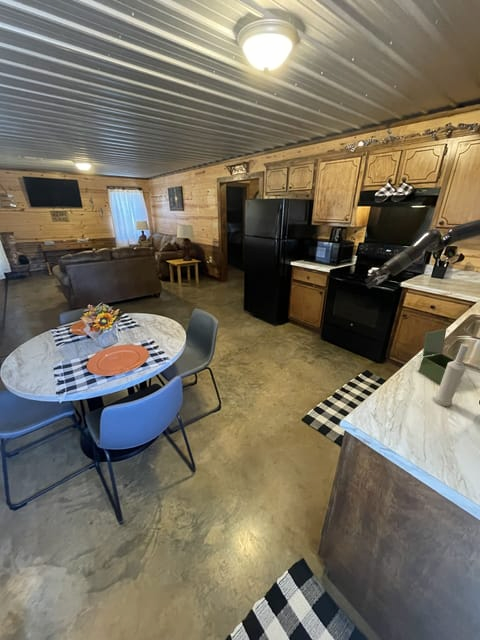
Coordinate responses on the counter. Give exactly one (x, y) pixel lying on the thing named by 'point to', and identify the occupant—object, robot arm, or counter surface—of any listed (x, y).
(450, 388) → the bottle
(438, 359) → the green hinged box
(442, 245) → the robot arm
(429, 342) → the lid
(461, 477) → the counter surface
